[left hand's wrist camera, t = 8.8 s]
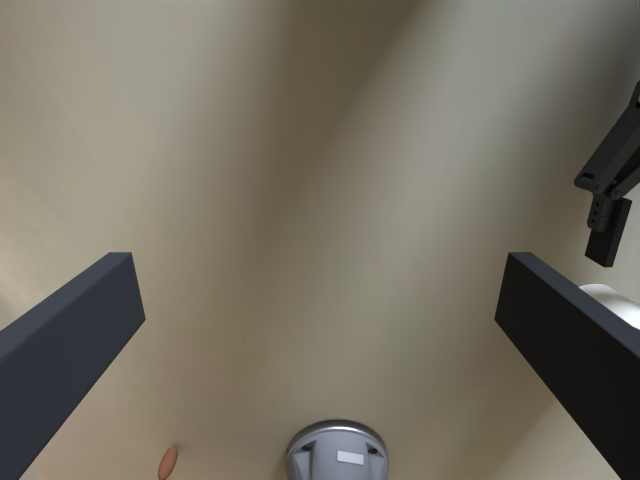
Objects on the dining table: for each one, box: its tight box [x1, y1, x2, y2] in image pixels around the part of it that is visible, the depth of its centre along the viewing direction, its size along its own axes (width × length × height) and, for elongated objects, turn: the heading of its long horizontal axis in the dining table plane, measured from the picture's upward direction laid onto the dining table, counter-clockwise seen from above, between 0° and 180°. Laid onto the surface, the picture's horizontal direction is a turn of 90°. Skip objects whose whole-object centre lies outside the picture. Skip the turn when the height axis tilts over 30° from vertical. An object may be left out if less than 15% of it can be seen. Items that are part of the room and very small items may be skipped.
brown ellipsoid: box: [158, 446, 178, 480], centre depth 51 cm, size 2×2×5 cm
